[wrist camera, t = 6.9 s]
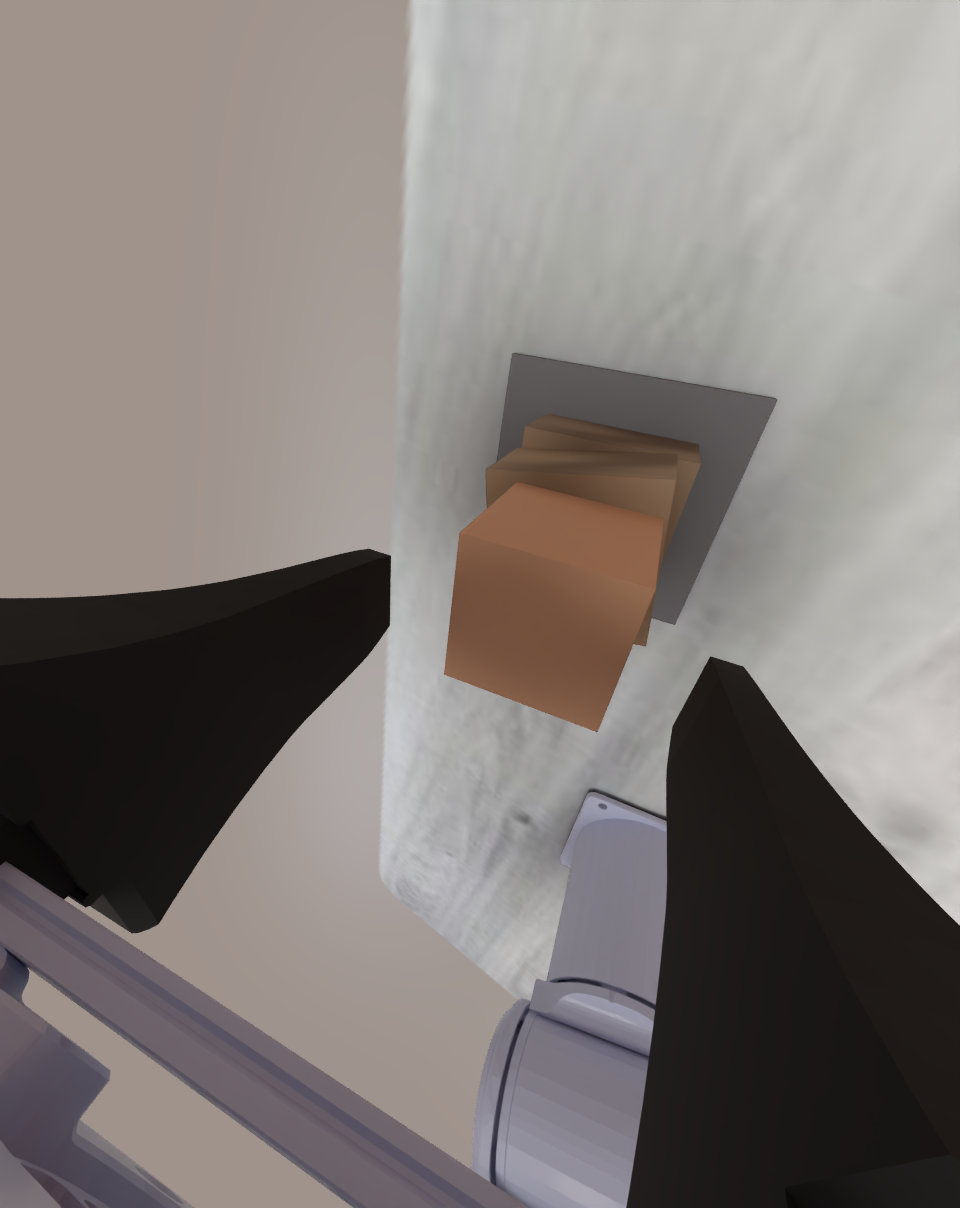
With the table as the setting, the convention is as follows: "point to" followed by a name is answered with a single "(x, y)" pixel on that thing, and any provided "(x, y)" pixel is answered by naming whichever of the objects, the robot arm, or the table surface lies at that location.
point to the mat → (658, 409)
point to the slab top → (595, 484)
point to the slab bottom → (607, 438)
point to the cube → (551, 600)
